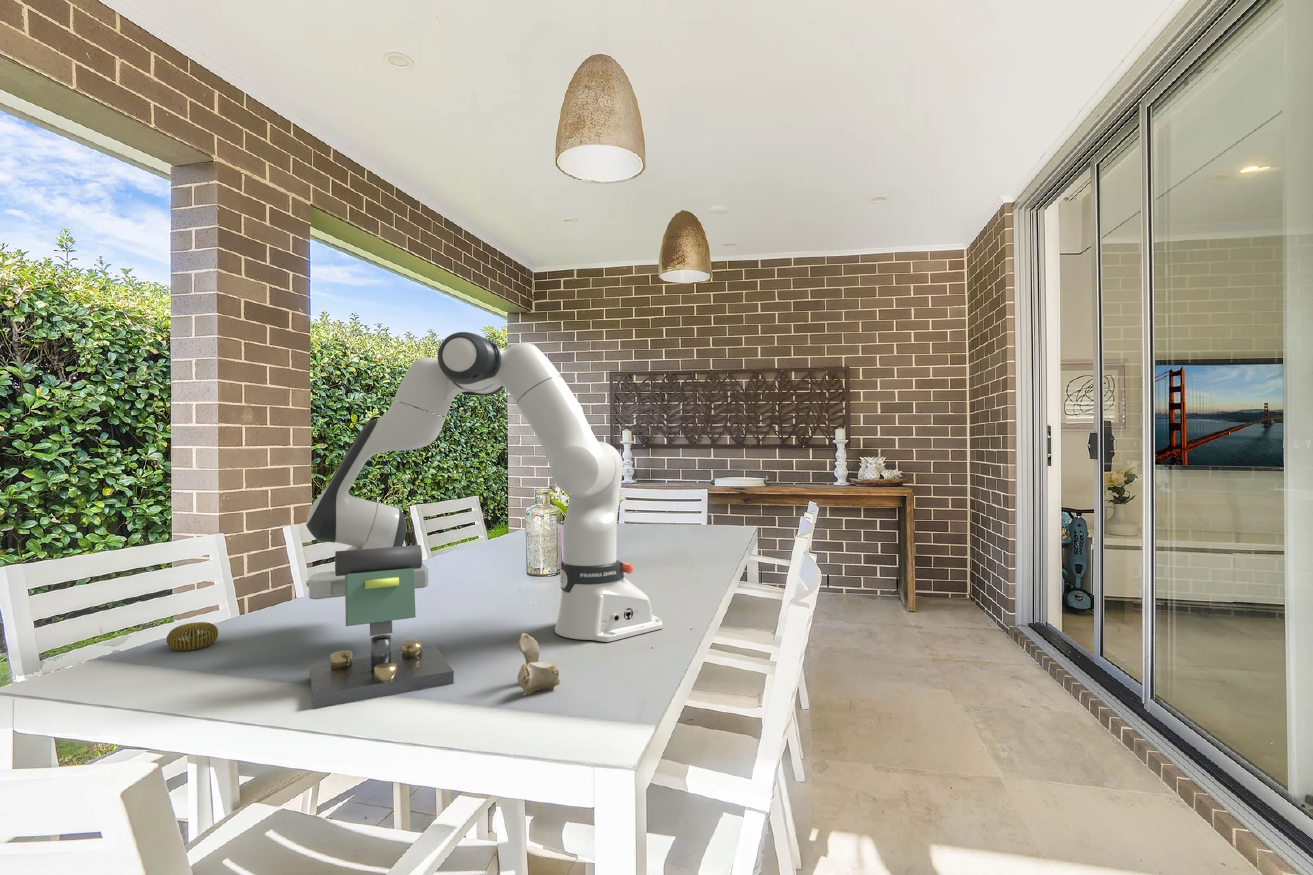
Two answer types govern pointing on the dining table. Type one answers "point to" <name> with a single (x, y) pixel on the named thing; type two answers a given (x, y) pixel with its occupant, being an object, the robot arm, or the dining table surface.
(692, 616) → the dining table surface
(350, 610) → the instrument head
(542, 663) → the bone
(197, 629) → the sculpture
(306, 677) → the dining table surface
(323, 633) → the dining table surface
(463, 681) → the dining table surface
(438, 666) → the plate
